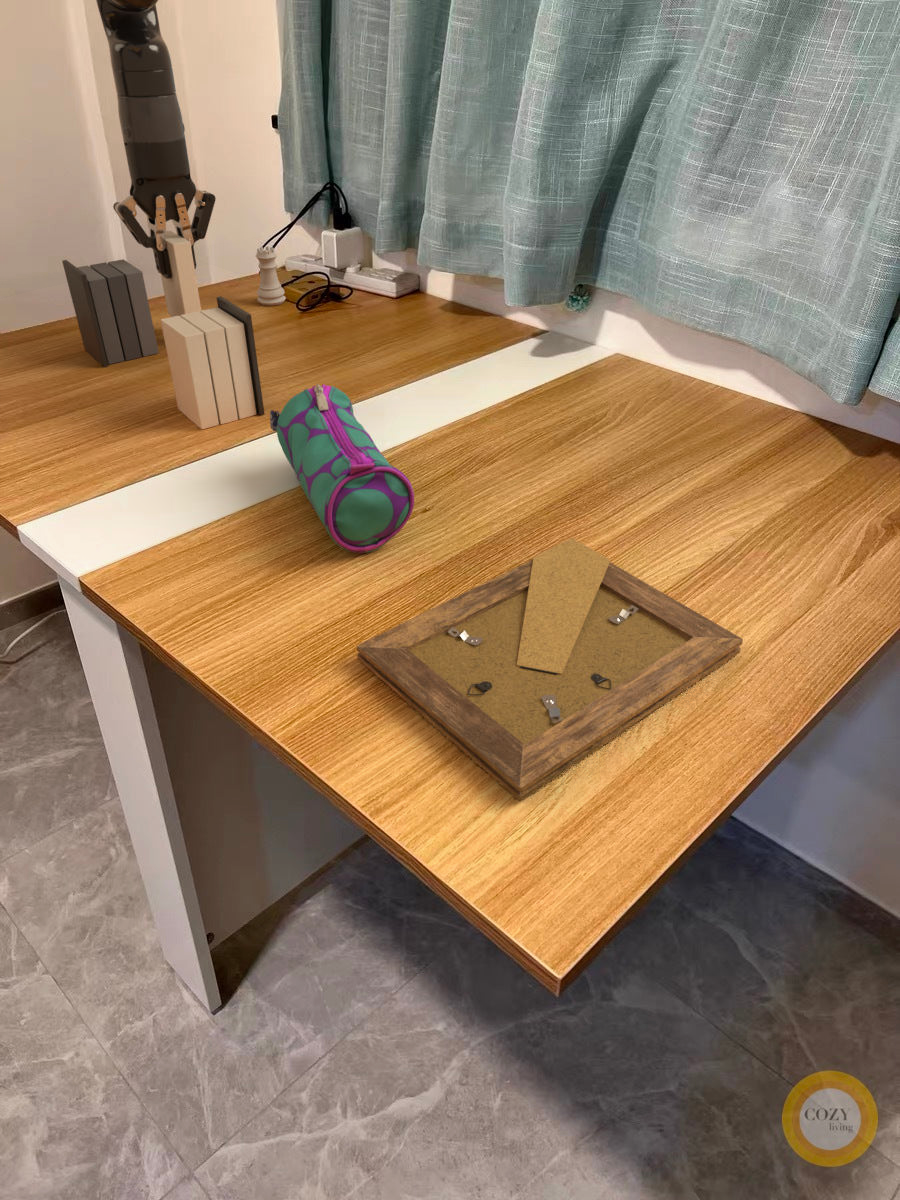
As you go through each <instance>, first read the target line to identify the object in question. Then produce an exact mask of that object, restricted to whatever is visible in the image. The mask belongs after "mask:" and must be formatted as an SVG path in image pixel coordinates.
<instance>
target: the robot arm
mask: <svg viewBox="0 0 900 1200" xmlns="http://www.w3.org/2000/svg"><path fill="white" fill-rule="evenodd" d="M95 1H96V4H97V9H98V13H99V16H100V20H101V23H102V27H103V30H104V33H105V36H106V39H107V45H108V49H109V57H110V65H111V70H112V76H113V82H114V86H115V92H116V99H117V112H118V120H119V126H120V130H121V134H122V140H123V145H124V151H125V156H126V161H127V166H128V172H129V176H130V182H131V183H130V185H131V186H130V189H129V196H127V197H126V198H125V199H123V200H122V201H121V202H119V201H116V202H115V203H113V205H112V207H113V210H114V212H115V213H116V215H117V216H118V217H119V218H120V220H121V222H122V223H123V224H124V226H125V227H126V228H127V230H128V231H129V233H130V235H131V236H132V237H133V238H134V240H135V241H136V242H137V243H138V244H139V245H141V246H142V247H144V248H146V249H152V252H153V256H154V262H155V267H156V270H157V272H158V273H159V274H160V275H161V274H162V275H163V277H165V278H166V279H169V278H172V271H171V266H170V260H169V254H168V250H166V249H165V248H166V243H165V232H166V231H167V222H169V221H172V224H173V226H174V228H175V231H176V234H177V235H179V236H181V237H182V238H184V239H186V240H188V241H190V243H191V250H192V256H193V262H194V268H195V270H197V260H196V254H195V248H194V247H195V246H194V245H195V244H196V242H197V241H200V240H204V239H205V238H206V235H207V233H208V228H209V225H210V221H211V218H212V215H213V211H214V207H215V204H216V199H217V198H216V195H214V194H213V193H211V192H209V191H207V190H201V189H198V188H197V185H196V184H195V182H194V181H193V179H192V177H191V168H190V167H191V166H190V161H189V155H188V148H187V143H186V142H187V141H186V135H185V134H186V133H185V131H186V130H185V124H184V121H183V116H182V110H181V107H180V104H179V103H180V102H179V99H178V95H177V92H176V91H177V90H176V83H175V77H174V70H173V65H172V59H171V54H170V50H169V48H168V46H167V43H166V42H165V40H164V38H163V36H162V33H161V27H160V20H159V15H158V11H157V9H158V8H157V4H158V2H159V0H95ZM193 200H194V201H193ZM193 202H194V205H195V206H196V207H195V209H194V214H193V218H192V222H191V220H190V218H189V213H188V212H189V209H190V207H191V205H192V203H193ZM136 205H137V207H138V208H140V210H141V211H142V212H143V213H144V214H145V216H146V222H147V223H146V224H147V227H148V231H149V233H148V234H149V235H148V234H147V233H146V231H145V230H144V228H143V227H142V226H141V224H140V222H139V221H138V220H137V219H136V216H137V214H138V212H137V209H136Z"/></svg>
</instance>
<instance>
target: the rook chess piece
mask: <svg viewBox="0 0 900 1200" xmlns="http://www.w3.org/2000/svg"><path fill="white" fill-rule="evenodd" d="M277 256H278V254H277V253H276V252H275V248H274V247H272V246H265V249H264V246H259V248H257V249H256V254H255V258H256V259H257V260H258V265H257V267H258V268H259V272H260V273H259V275H260V276H259V277H260V280H259V285H258V289H257V291H256V295H257V296H258V297H257V298H256V300H257V302H258V303H259V304H260V305H262V306H266V307H267V306H268V307H272V306H274V307H275V306H278V305H282V304H284V302H285V300H286V299H287V297H286V296H285V295H284V294H285V293H286V292H285V289H284V288H283V287H282V284H281V283H280V281H279V278H278V272H277V266H278V265H277V263H276V258H277Z"/></svg>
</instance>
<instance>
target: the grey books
mask: <svg viewBox="0 0 900 1200" xmlns="http://www.w3.org/2000/svg"><path fill="white" fill-rule="evenodd" d="M61 261H62V265H63V266H62V267H63V269H64V273H65V278H66V282H67V286H68V289H69V290H68V291H69V293H70V298H71V301H72V305H73V309H74V313H75V317H76V321H77V324H78V325H77V326H78V329H79V332H80V336H81V340H82V344H83V348H84V350H85V351H86V352H87V354H89V355H90V356H91V357H92V358H93V359H95V361H96V362H98V363H99V364H100V365H101V366H102V368H107V367H109V366H110V365H114V364H117V363H118V364H119V363H123V362H125V361H126V362H127V361H131V360H137V359H140V358H142V357H144V358H145V357H148V356H153V355H157V354H160V352H159V347H158V342H157V337H156V333H155V327H154V322H153V318H152V313H151V308H150V303H149V298H148V293H147V289H146V282H145V279H144V275H143V274H144V273H143V271H142V270H140V269H139V268H137V267H136V266H134V265H133V264H131V263H130V262H128V261H126V259H124V258H123V259H118V260H112V261H108V262H100V263H94V264H90V265H83V266H82V265H81V266H75V265H74V264H72V263H71V262H70V261H68V260H67V259H63V260H61Z"/></svg>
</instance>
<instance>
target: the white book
mask: <svg viewBox="0 0 900 1200" xmlns="http://www.w3.org/2000/svg"><path fill="white" fill-rule="evenodd" d="M165 243H166V248H165V249H166V250H168V254H169V260H170V266H171V271H172V278H169V279H166V278H165V277H163V275H162V274H160V278H161V282H162V288H163V294H164V299H165V300H164V301H165V306H166V310H167V314H168V315H169V316H170V317H174V316H180V317H181V315H183V314H188V313H193V312H198V311H199V312H200V311H202V307H201V300H200V294H199V287H198V282H197V281H198V280H197V276H196V275H197V274H196V269H195V268H194V262H193V256H192V250H191V243H190V241H188V240H186V239H184V238H182V237H181V236H179V235H177V233H175V232H173V231H172V230H166V232H165ZM200 313H201V312H200Z"/></svg>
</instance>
